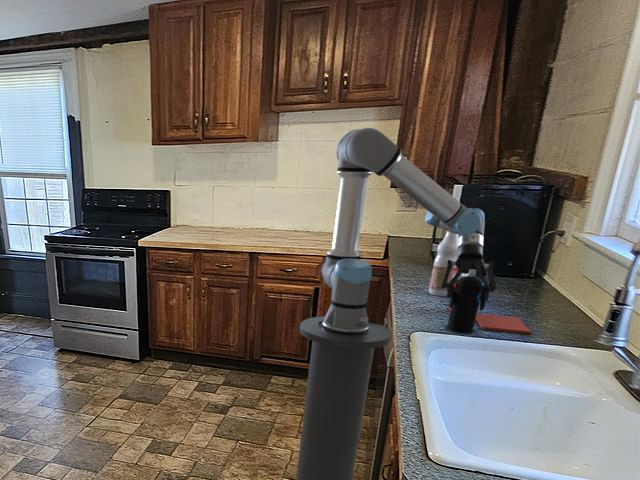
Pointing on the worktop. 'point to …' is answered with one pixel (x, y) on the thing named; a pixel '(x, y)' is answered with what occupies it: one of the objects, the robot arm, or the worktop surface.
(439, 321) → the worktop surface
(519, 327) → the pad
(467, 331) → the aerosol can
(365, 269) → the robot arm
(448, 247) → the fruit juice
